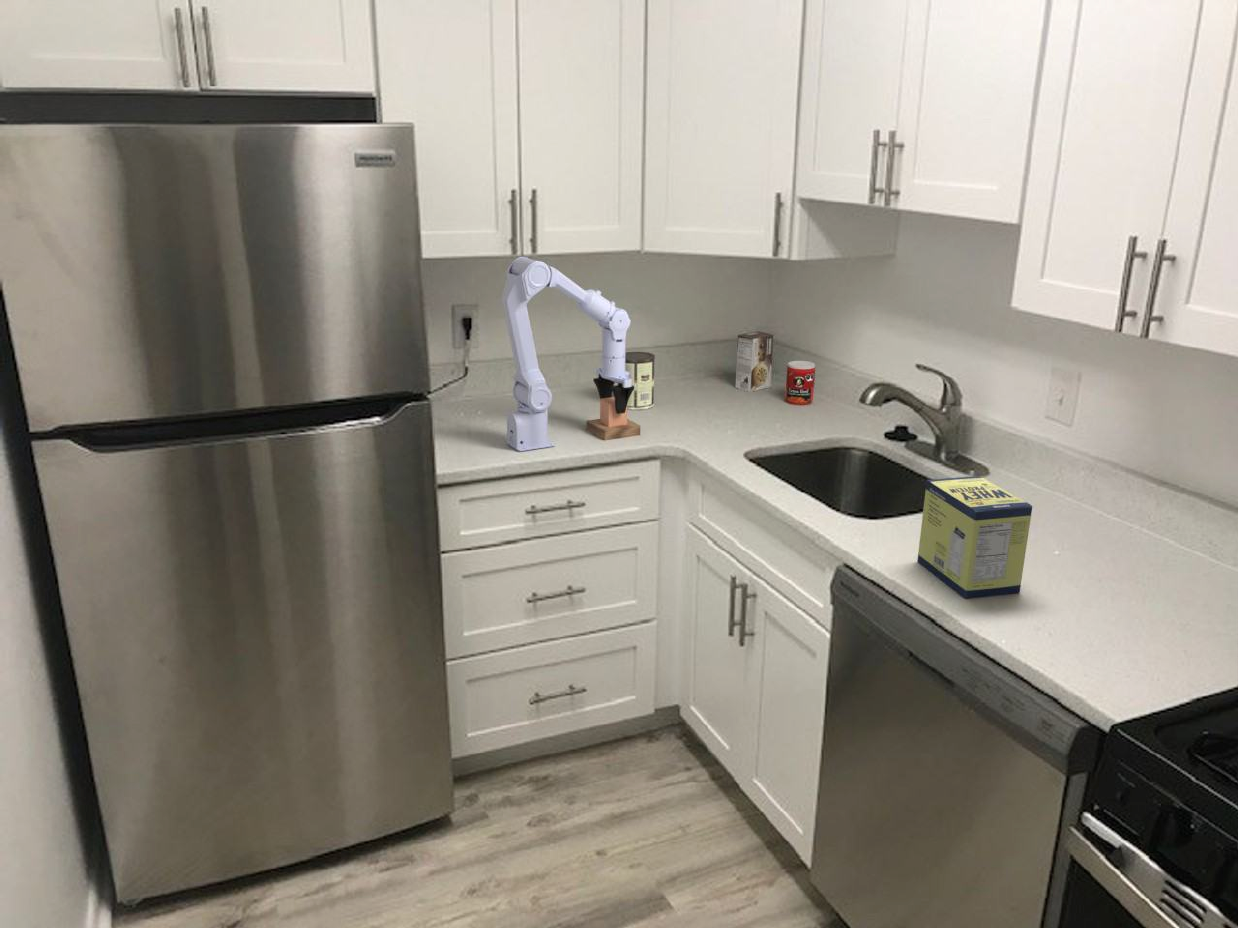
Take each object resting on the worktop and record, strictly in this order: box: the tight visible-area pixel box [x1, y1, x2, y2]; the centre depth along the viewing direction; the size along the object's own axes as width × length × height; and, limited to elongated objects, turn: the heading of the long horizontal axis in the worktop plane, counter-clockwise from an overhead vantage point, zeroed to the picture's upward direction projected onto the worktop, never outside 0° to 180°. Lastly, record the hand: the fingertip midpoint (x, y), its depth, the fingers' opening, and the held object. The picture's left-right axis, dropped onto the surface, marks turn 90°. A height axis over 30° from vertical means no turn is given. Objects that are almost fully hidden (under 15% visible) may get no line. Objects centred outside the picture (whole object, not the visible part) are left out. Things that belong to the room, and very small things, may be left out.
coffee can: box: [625, 351, 656, 411], centre depth 266 cm, size 10×10×14 cm
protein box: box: [916, 475, 1033, 599], centre depth 163 cm, size 10×16×16 cm
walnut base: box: [585, 418, 641, 441], centre depth 244 cm, size 10×10×3 cm
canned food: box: [784, 360, 816, 406], centre depth 272 cm, size 8×8×11 cm
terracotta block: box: [599, 396, 628, 427], centre depth 242 cm, size 5×5×6 cm
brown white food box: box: [735, 330, 774, 393], centre depth 286 cm, size 9×6×16 cm
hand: (613, 409), depth 242 cm, fingers open, 7 cm apart
